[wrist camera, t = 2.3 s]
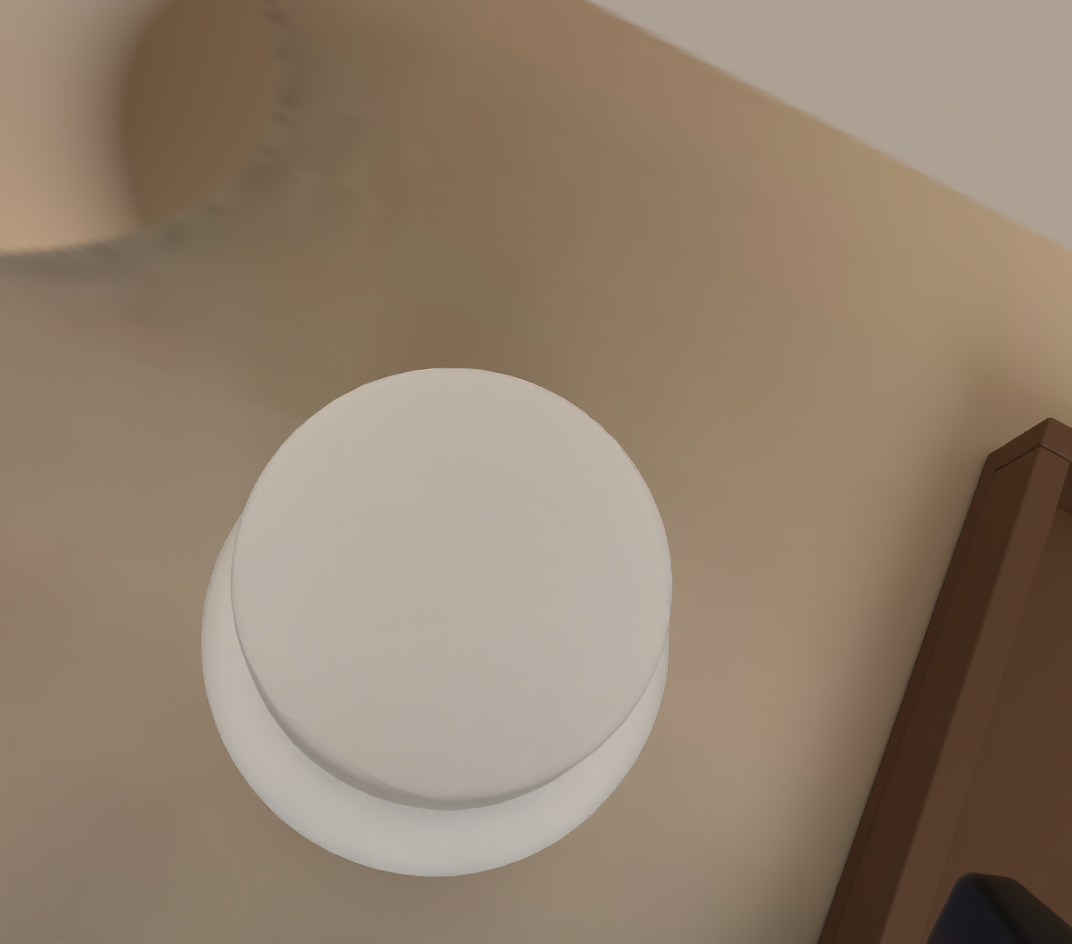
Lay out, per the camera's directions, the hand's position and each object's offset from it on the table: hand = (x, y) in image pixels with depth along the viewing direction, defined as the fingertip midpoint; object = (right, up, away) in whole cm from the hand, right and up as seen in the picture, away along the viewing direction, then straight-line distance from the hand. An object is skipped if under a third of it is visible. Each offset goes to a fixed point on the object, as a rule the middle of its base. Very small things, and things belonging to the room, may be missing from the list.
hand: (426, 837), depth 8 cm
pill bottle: (-1, -1, +10) cm, 10 cm away
